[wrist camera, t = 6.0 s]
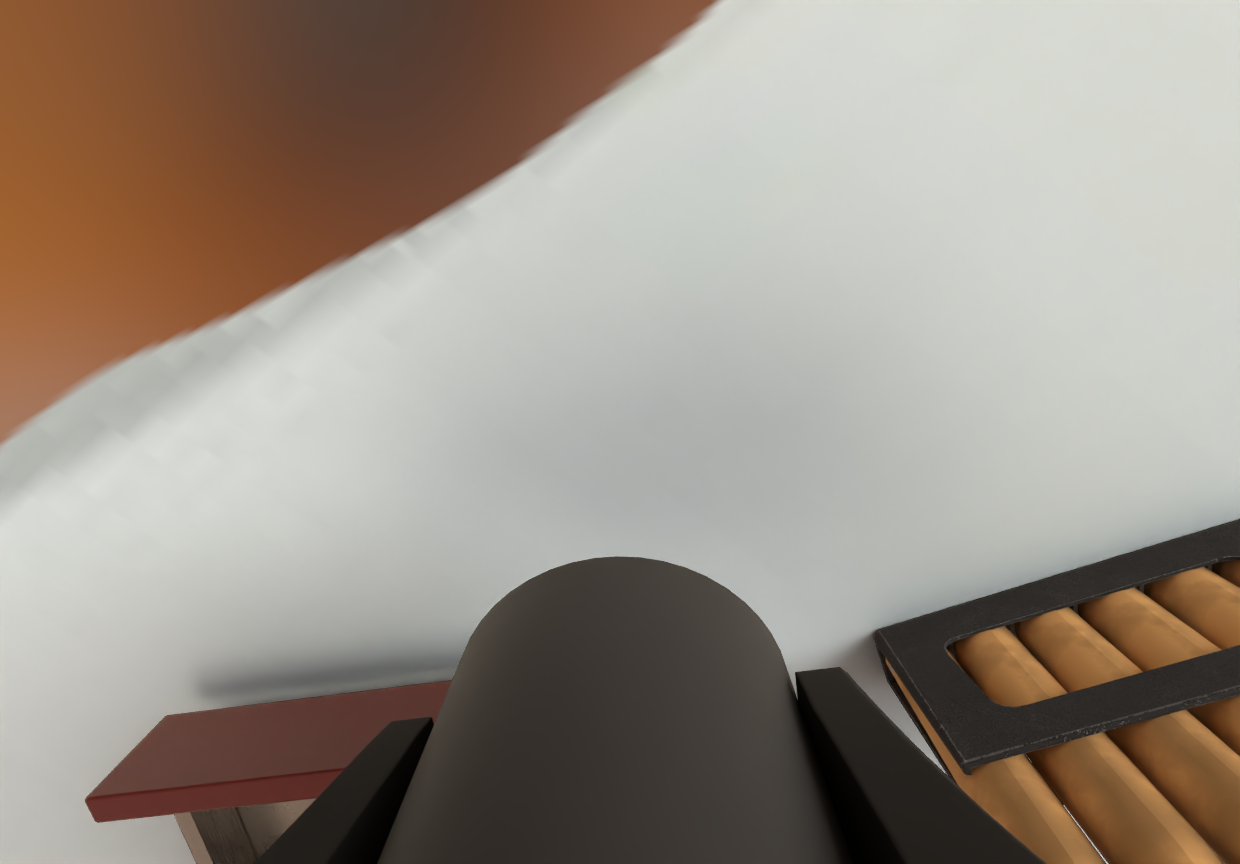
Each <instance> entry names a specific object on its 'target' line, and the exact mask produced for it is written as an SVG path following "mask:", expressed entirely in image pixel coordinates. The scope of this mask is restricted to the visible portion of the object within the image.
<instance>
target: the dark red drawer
mask: <svg viewBox="0 0 1240 864" xmlns="http://www.w3.org/2000/svg"><path fill="white" fill-rule="evenodd" d="M451 682H452V680H450V681H442V682H434V683H425V684H417V685H409V686H401V687H393V688H385V689H377V690H368V691H360V692H352V693H344V694H336V695H328V696H320V697H311V698H303V699H295V700H287V701H279V702H271V703H263V704H255V705H246V706H238V707H230V708H222V709H214V710H206V711H198V712H189V713H181V714H173V715H167V716H165V717H164V718H163V719H162V720H161V721H160V722H159V723H158V724H157V725H156V726H155V727H154V728H153V729H152V730H151V731H150V732H149V733H148V734H147V736H146V737H145V738H144V739H143V740H142V741H141V742H140V743H139V744H138V745H137V746H136V747H135V748H134V749H133V750H132V751H131V752H130V753H129V754H128V755H127V756H126V757H125V758H124V759H123V760H122V761H121V762H120V763H119V764H118V765H117V766H116V767H115V768H114V769H113V770H112V771H111V773H110V774H109V775H108V776H107V777H106V778H105V779H104V780H103V781H102V782H101V783H100V784H99V785H98V786H97V787H96V788H95V789H94V790H93V791H92V792H91V793H90V794H89V795H88V796H87V797H86V799H85V803H86V805H87V807H88V809H89V811H90V813H91V815H92V816H93V818H94V820H95V821H96V822H98V823H99V822H108V821H117V820H126V819H135V818H144V817H153V816H162V815H171V814H174V816H175V818H176V820H177V822H178V825H179V827H180V829H181V831H182V833H183V835H184V838H185V840H186V842H187V844H188V846H189V848H190V851H191V853H192V855H193V857H194V859H195V861H196V864H253V863H254V862H255V861H256V860H257V859H258V858H259V857H260V856H261V855H262V854H263V853H264V852H265V851H266V850H267V849H268V848H269V847H270V846H271V845H272V844H273V843H274V842H275V841H276V840H277V839H278V838H279V837H280V836H281V835H282V834H283V833H284V832H285V831H286V830H287V829H288V828H289V827H290V826H291V824H292V823H293V822H294V821H295V820H296V819H297V818H298V817H299V816H300V815H301V814H302V813H303V812H304V811H305V810H306V809H307V808H308V807H309V806H310V805H311V804H312V803H313V802H314V801H315V800H316V799H317V798H318V797H319V795H320V794H321V793H322V792H323V791H324V790H325V789H326V788H327V787H328V786H329V785H330V784H331V783H332V782H333V781H334V780H335V779H336V778H337V777H338V775H339V774H340V773H341V772H342V771H343V770H344V769H345V768H346V767H347V766H348V765H349V764H350V763H351V762H352V761H353V760H354V759H355V758H356V757H357V755H358V754H359V753H360V752H361V751H362V750H363V749H364V748H365V747H366V746H367V745H368V744H369V743H370V742H371V741H372V740H373V739H374V738H375V737H376V736H377V735H378V734H379V733H380V732H381V731H382V730H383V729H384V728H385V727H386V726H387V725H388V724H389V723H390V722H391V721H399V720H407V719H416V718H424V717H432V719H433V723H434V724H435V721H436V719H437V716H438V714H439V711H440V709H441V707H442V704H443V702H444V699H445V697H446V694H447V692H448V690H449V687H450V685H451Z"/></svg>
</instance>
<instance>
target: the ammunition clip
mask: <svg viewBox="0 0 1240 864" xmlns="http://www.w3.org/2000/svg"><path fill="white" fill-rule="evenodd" d="M873 638H874V641H875V644H876V647H877V650H878V653H879V657H880V660H881V663H882V666H883V669H884V672H885V675H886V679H887V682H888V684H889V685H890V687H891V688H892V690H893V691H894V693H895V695H896V696H897V698H898V699H899V701H900V702H901V704H902V705H903V707H904V708H905V710H906V711H907V713H908V715H909V716H910V718H911V719H912V721H913V722H914V724H915V725H916V727H917V728H918V730H919V732H920V733H921V735H922V736H923V738H924V739H925V741H926V742H927V744H928V745H929V747H930V748H931V750H932V752H933V753H934V755H935V756H936V758H937V759H938V761H939V762H940V764H941V765H942V767H943V768H944V770H945V772H946V773H947V775H948V776H949V778H950V779H951V780H952V781H953V782H955V783H956V784H957V785H958V786H959V787H960V788H961V789H962V790H963V791H964V792H965V793H966V794H967V795H968V796H969V797H971V798H972V799H973V800H974V801H975V802H976V803H977V804H978V805H979V806H981V807H982V808H983V809H984V810H985V811H986V812H987V813H988V814H989V815H990V816H992V817H993V818H994V819H995V820H996V821H997V822H998V823H1000V824H1001V825H1002V826H1003V827H1004V828H1005V829H1007V830H1008V831H1009V832H1010V833H1011V834H1012V835H1014V836H1015V837H1016V838H1017V839H1018V840H1019V841H1020V842H1022V843H1023V844H1024V845H1025V846H1026V847H1027V848H1029V849H1030V850H1031V851H1032V852H1033V853H1034V854H1036V855H1037V856H1038V857H1039V858H1040V859H1042V860H1043V861H1044V862H1045V863H1046V864H1106V863H1105V861H1104V860H1103V859H1102V857H1101V856H1100V855H1099V853H1098V852H1097V851H1096V849H1095V848H1094V847H1093V845H1092V844H1091V842H1090V841H1089V840H1088V838H1087V837H1086V836H1085V834H1084V833H1083V832H1082V830H1081V829H1080V828H1079V826H1078V825H1077V823H1076V822H1075V821H1074V819H1075V820H1076V821H1077V822H1078V824H1079V825H1080V826H1081V828H1082V829H1083V830H1084V832H1085V833H1086V834H1087V836H1088V837H1089V838H1090V840H1091V841H1092V842H1093V844H1094V845H1095V846H1096V848H1097V849H1098V850H1099V852H1100V853H1101V854H1102V856H1103V857H1104V858H1105V859H1106V861H1107V862H1108V863H1109V864H1224V863H1225V864H1240V520H1237V521H1234V522H1230V523H1227V524H1224V525H1220V526H1217V527H1214V528H1211V529H1207V530H1204V531H1201V532H1197V533H1194V534H1191V535H1188V536H1184V537H1181V538H1178V539H1174V540H1171V541H1168V542H1165V543H1161V544H1158V545H1155V546H1152V547H1148V548H1145V549H1142V550H1138V551H1135V552H1132V553H1129V554H1125V555H1122V556H1119V557H1115V558H1112V559H1109V560H1106V561H1102V562H1099V563H1096V564H1092V565H1089V566H1086V567H1083V568H1079V569H1076V570H1073V571H1070V572H1066V573H1063V574H1060V575H1056V576H1053V577H1050V578H1047V579H1043V580H1040V581H1037V582H1033V583H1030V584H1027V585H1024V586H1020V587H1017V588H1014V589H1010V590H1007V591H1004V592H1001V593H997V594H994V595H991V596H988V597H984V598H981V599H978V600H974V601H971V602H968V603H965V604H961V605H958V606H955V607H951V608H948V609H945V610H942V611H938V612H935V613H932V614H928V615H925V616H922V617H919V618H915V619H912V620H909V621H906V622H902V623H899V624H896V625H892V626H889V627H886V628H883V629H879V630H878V631H877V633H876V635H875V636H874V637H873ZM1026 755H1027V756H1028V757H1027V756H1026ZM1029 759H1030V760H1031V761H1030V760H1029ZM1063 805H1065V807H1066V808H1067V809H1068V811H1069V812H1070V813H1071V815H1072V816H1073V817H1074V819H1073V818H1072V817H1071V815H1070V814H1069V813H1068V811H1067V810H1066V809H1065V807H1064V806H1063ZM1223 862H1224V863H1223Z"/></svg>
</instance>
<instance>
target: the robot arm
mask: <svg viewBox="0 0 1240 864" xmlns="http://www.w3.org/2000/svg"><path fill="white" fill-rule="evenodd" d="M795 676H796V686H797V696H798V703H799V706H800V709H801V711H802V714H803V717H804V720H805V723H806V726H807V729H808V732H809V735H810V738H811V740H812V743H813V746H814V749H815V752H816V755H817V758H818V761H819V764H820V767H821V769H822V772H823V775H824V778H825V781H826V784H827V787H828V790H829V792H830V795H831V798H832V801H833V804H834V807H835V810H836V813H837V816H838V819H839V821H840V824H841V827H842V830H843V833H844V836H845V839H846V842H847V845H848V848H849V850H850V853H851V856H852V859H853V862H854V864H1046V863H1045V862H1044V861H1043V860H1042V859H1040V858H1039V857H1038V856H1037V855H1036V854H1034V853H1033V852H1032V851H1031V850H1030V849H1029V848H1027V847H1026V846H1025V845H1024V844H1023V843H1022V842H1020V841H1019V840H1018V839H1017V838H1016V837H1015V836H1014V835H1012V834H1011V833H1010V832H1009V831H1008V830H1007V829H1005V828H1004V827H1003V826H1002V825H1001V824H1000V823H998V822H997V821H996V820H995V819H994V818H993V817H992V816H990V815H989V814H988V813H987V812H986V811H985V810H984V809H983V808H982V807H981V806H979V805H978V804H977V803H976V802H975V801H974V800H973V799H972V798H971V797H969V796H968V795H967V794H966V793H965V792H964V791H963V790H962V789H961V788H960V787H959V786H958V785H957V784H956V783H955V782H953V781H952V780H951V779H950V778H949V777H948V776H947V775H946V774H945V773H944V772H943V771H942V770H941V769H940V768H939V767H938V766H937V765H936V764H934V763H933V762H932V761H931V760H930V759H929V758H928V757H927V756H926V755H925V754H924V753H923V752H922V751H921V750H920V749H919V748H918V747H917V746H916V745H915V744H914V743H913V742H912V741H911V740H910V739H909V738H908V737H907V736H906V735H905V734H904V733H903V732H902V731H901V730H900V729H899V728H898V727H897V726H896V725H895V724H894V723H893V722H892V721H891V720H890V719H889V718H888V717H887V716H886V714H885V713H884V712H883V711H882V710H881V709H880V708H879V707H878V706H877V705H876V704H875V703H874V702H873V701H872V700H871V698H870V697H869V696H868V695H867V694H866V693H865V692H864V691H863V690H862V689H861V687H860V686H859V685H858V684H857V683H856V682H855V681H854V680H853V679H852V677H851V676H850V675H849V674H848V673H847V672H845V671H844V670H843V669H842V668H840V667H836V668H828V669H819V670H811V671H803V672H795ZM433 726H434V723H433V719H432V717H424V718H416V719H407V720H399V721H391V722H390V723H389V724H388V725H387V726H386V727H385V728H384V729H383V730H382V731H381V732H380V733H379V734H378V735H377V736H376V737H375V738H374V739H373V740H372V741H371V742H370V743H369V744H368V745H367V746H366V747H365V748H364V749H363V750H362V751H361V752H360V753H359V754H358V755H357V757H356V758H355V759H354V760H353V761H352V762H351V763H350V764H349V765H348V766H347V767H346V768H345V769H344V770H343V771H342V772H341V773H340V774H339V775H338V777H337V778H336V779H335V780H334V781H333V782H332V783H331V784H330V785H329V786H328V787H327V788H326V789H325V790H324V791H323V792H322V793H321V794H320V795H319V797H318V798H317V799H316V800H315V801H314V802H313V803H312V804H311V805H310V806H309V807H308V808H307V809H306V810H305V811H304V812H303V813H302V814H301V815H300V816H299V817H298V818H297V819H296V820H295V821H294V822H293V823H292V824H291V826H290V827H289V828H288V829H287V830H286V831H285V832H284V833H283V834H282V835H281V836H280V837H279V838H278V839H277V840H276V841H275V842H274V843H273V844H272V845H271V846H270V847H269V848H268V849H267V850H266V851H265V852H264V853H263V854H262V855H261V856H260V857H259V858H258V859H257V860H256V861H255V862H254V863H253V864H377V862H378V860H379V857H380V855H381V853H382V850H383V848H384V845H385V843H386V840H387V838H388V836H389V833H390V831H391V828H392V826H393V823H394V821H395V819H396V816H397V814H398V811H399V809H400V806H401V804H402V802H403V799H404V797H405V794H406V792H407V789H408V787H409V784H410V782H411V780H412V777H413V775H414V772H415V770H416V767H417V765H418V763H419V760H420V758H421V755H422V753H423V750H424V748H425V746H426V743H427V741H428V738H429V736H430V733H431V731H432V728H433Z"/></svg>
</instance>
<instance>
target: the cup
mask: <svg viewBox="0 0 1240 864" xmlns="http://www.w3.org/2000/svg"><path fill="white" fill-rule="evenodd" d="M377 864H854V862H853V859H852V856H851V853H850V850H849V848H848V845H847V842H846V839H845V836H844V833H843V830H842V827H841V824H840V821H839V819H838V816H837V813H836V810H835V807H834V804H833V801H832V798H831V795H830V792H829V790H828V787H827V784H826V781H825V778H824V775H823V772H822V769H821V767H820V764H819V761H818V758H817V755H816V752H815V749H814V746H813V743H812V740H811V738H810V735H809V732H808V729H807V726H806V723H805V720H804V717H803V714H802V711H801V709H800V706H799V703H798V700H797V697H796V694H795V691H794V688H793V685H792V682H791V679H790V676H789V673H788V671H787V668H786V665H785V662H784V659H783V656H782V654H781V651H780V649H779V647H778V645H777V643H776V641H775V639H774V638H773V636H772V634H771V632H770V631H769V630H768V628H767V627H766V625H765V624H764V623H763V621H762V620H761V619H760V617H759V616H758V615H757V614H756V613H755V612H754V611H753V610H752V609H751V608H750V607H749V606H748V605H747V604H746V603H745V602H744V601H743V600H741V599H740V598H739V597H737V596H736V595H735V594H733V593H732V592H731V591H730V590H728V589H727V588H725V587H724V586H722V585H720V584H718V583H717V582H715V581H713V580H712V579H710V578H708V577H706V576H704V575H702V574H699V573H697V572H695V571H692V570H690V569H688V568H685V567H682V566H678V565H675V564H671V563H668V562H664V561H659V560H653V559H647V558H640V557H604V558H593V559H588V560H583V561H578V562H573V563H569V564H566V565H563V566H560V567H557V568H554V569H551V570H549V571H547V572H544V573H542V574H540V575H538V576H536V577H534V578H532V579H530V580H528V581H526V582H525V583H523V584H522V585H520V586H519V587H517V588H516V589H514V590H512V591H511V592H510V593H508V594H507V595H506V596H505V597H504V598H503V599H501V600H500V601H499V602H498V603H497V604H496V605H495V606H494V607H493V608H492V609H491V610H490V611H489V612H488V614H487V615H486V616H485V617H484V618H483V619H482V620H481V622H480V623H479V625H478V626H477V628H476V630H475V631H474V633H473V634H472V636H471V637H470V640H469V642H468V644H467V646H466V649H465V651H464V653H463V655H462V658H461V660H460V663H459V665H458V668H457V670H456V672H455V675H454V677H453V680H452V682H451V685H450V687H449V690H448V692H447V694H446V697H445V699H444V702H443V704H442V707H441V709H440V711H439V714H438V716H437V719H436V721H435V724H434V726H433V728H432V731H431V733H430V736H429V738H428V741H427V743H426V746H425V748H424V750H423V753H422V755H421V758H420V760H419V763H418V765H417V767H416V770H415V772H414V775H413V777H412V780H411V782H410V784H409V787H408V789H407V792H406V794H405V797H404V799H403V802H402V804H401V806H400V809H399V811H398V814H397V816H396V819H395V821H394V823H393V826H392V828H391V831H390V833H389V836H388V838H387V840H386V843H385V845H384V848H383V850H382V853H381V855H380V857H379V860H378V862H377Z"/></svg>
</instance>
